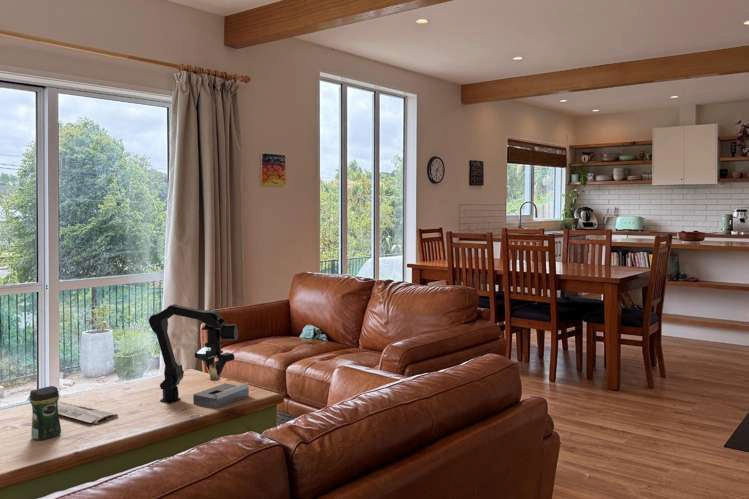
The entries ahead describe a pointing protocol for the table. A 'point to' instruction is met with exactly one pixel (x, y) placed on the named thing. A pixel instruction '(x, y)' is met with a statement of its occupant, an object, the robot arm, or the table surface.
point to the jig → (221, 395)
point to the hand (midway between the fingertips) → (214, 374)
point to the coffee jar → (45, 413)
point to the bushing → (213, 372)
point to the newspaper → (83, 413)
